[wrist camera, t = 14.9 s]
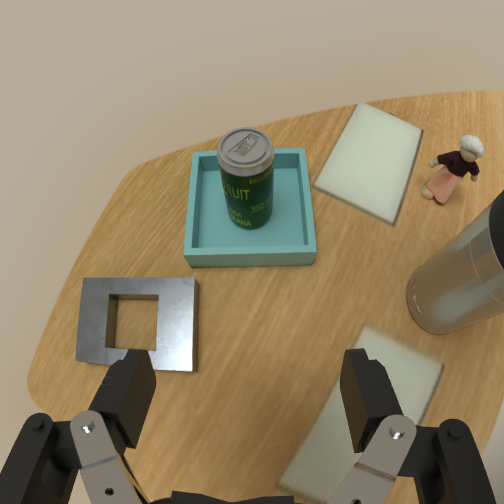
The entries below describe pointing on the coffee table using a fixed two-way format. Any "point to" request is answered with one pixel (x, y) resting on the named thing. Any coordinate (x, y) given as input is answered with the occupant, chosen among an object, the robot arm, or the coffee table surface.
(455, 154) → the grandmother figurine
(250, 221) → the beer can
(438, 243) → the coffee table surface
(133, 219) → the coffee table surface
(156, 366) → the gray rectangular block
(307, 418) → the coffee table surface
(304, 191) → the tray
